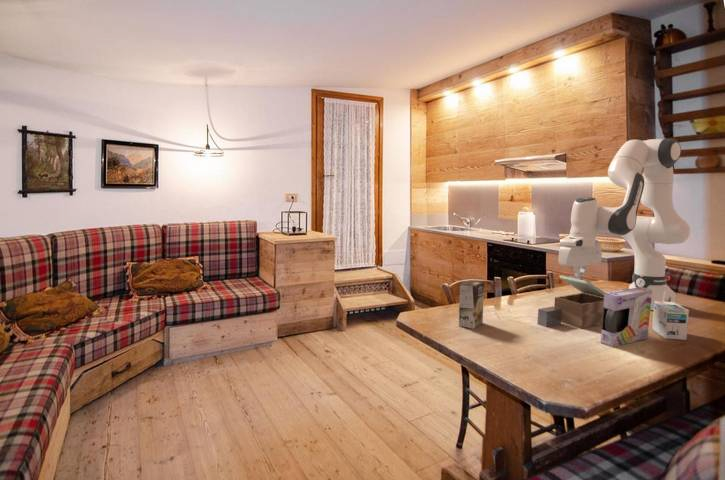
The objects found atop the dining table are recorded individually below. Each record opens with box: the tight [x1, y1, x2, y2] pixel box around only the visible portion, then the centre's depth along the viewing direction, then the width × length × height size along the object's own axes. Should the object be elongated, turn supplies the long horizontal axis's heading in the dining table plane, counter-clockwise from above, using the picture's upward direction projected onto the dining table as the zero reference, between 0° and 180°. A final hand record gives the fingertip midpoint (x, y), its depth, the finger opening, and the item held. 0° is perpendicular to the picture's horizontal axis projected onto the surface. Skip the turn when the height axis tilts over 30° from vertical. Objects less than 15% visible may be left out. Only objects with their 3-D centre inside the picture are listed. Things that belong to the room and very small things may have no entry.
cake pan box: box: [600, 287, 652, 348], centre depth 144 cm, size 19×5×18 cm, turn 114°
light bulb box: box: [651, 301, 690, 341], centre depth 152 cm, size 11×7×11 cm, turn 168°
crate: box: [553, 292, 604, 329], centre depth 167 cm, size 16×12×9 cm
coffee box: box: [458, 280, 485, 330], centre depth 162 cm, size 9×6×16 cm
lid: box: [559, 274, 606, 298], centre depth 166 cm, size 16×12×2 cm
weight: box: [537, 305, 562, 328], centre depth 163 cm, size 8×4×6 cm, turn 116°
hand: (579, 276), depth 164 cm, fingers closed
